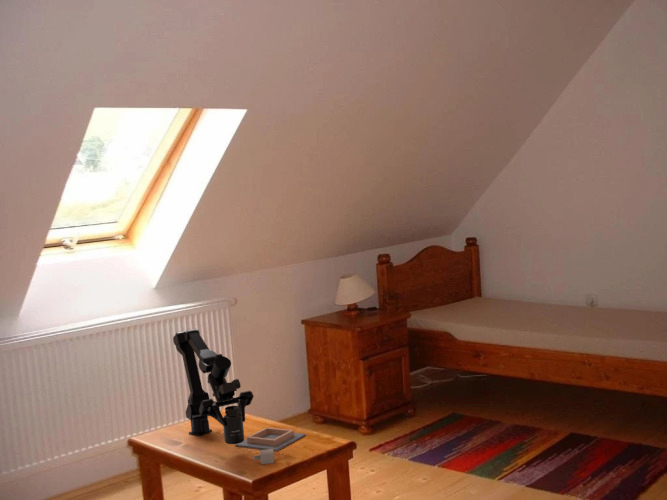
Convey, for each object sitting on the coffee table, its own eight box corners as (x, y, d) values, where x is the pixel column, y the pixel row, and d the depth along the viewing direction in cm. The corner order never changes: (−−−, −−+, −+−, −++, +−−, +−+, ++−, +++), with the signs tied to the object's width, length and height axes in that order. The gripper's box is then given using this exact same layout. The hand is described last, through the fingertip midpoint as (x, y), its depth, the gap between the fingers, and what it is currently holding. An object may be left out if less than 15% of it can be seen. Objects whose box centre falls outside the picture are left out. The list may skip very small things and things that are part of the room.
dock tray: (235, 446, 283) (234, 439, 282) (265, 431, 298) (265, 424, 298) (276, 451, 273) (276, 443, 273) (305, 435, 288) (305, 428, 288)
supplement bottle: (236, 445, 269) (233, 411, 268) (220, 443, 273) (217, 409, 272) (248, 439, 275) (245, 405, 274) (233, 437, 278) (230, 403, 277)
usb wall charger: (274, 463, 261) (273, 451, 260) (253, 466, 260) (251, 454, 260) (274, 459, 265) (273, 448, 264) (253, 462, 264) (252, 450, 264)
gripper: (198, 377, 270) (214, 416, 262) (249, 367, 280) (265, 404, 271) (192, 396, 278) (207, 434, 269) (241, 385, 287) (257, 422, 279)
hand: (234, 423), depth 272 cm, fingers closed on supplement bottle, 7 cm apart
